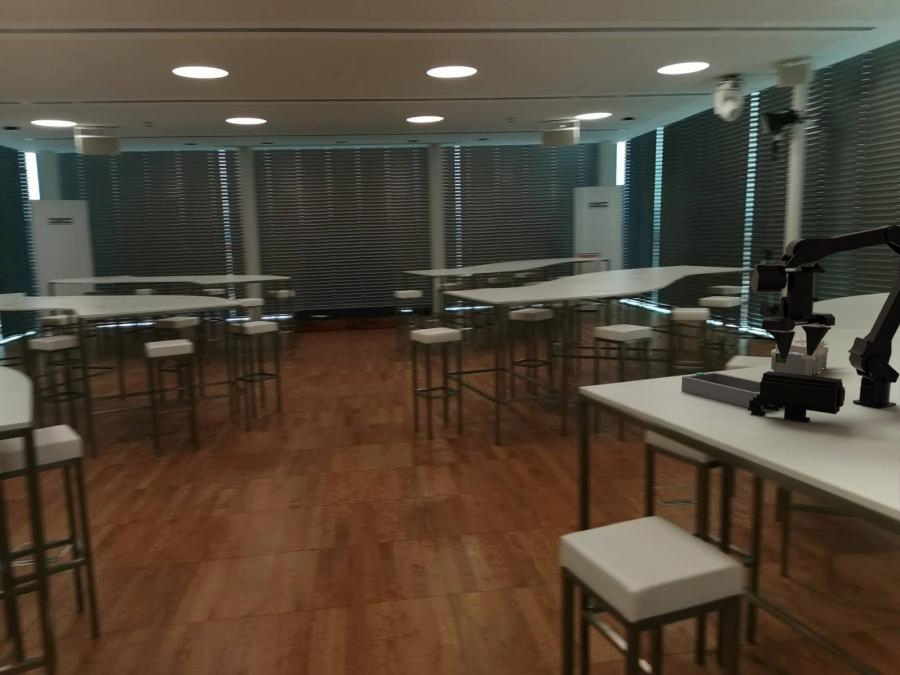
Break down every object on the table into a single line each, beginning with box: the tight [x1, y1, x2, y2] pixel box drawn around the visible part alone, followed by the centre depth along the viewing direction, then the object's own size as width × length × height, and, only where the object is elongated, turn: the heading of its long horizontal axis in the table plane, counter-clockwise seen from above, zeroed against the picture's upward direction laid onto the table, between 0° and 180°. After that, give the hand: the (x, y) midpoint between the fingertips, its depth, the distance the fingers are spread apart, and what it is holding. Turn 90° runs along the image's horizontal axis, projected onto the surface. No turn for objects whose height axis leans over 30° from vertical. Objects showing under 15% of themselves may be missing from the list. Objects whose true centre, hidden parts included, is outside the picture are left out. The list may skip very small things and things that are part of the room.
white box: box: [770, 337, 829, 376], centre depth 186 cm, size 12×28×10 cm, turn 136°
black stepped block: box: [747, 370, 846, 424], centre depth 138 cm, size 7×18×10 cm, turn 47°
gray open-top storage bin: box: [681, 372, 774, 410], centre depth 159 cm, size 12×23×4 cm, turn 26°
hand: (796, 357), depth 149 cm, fingers open, 9 cm apart
